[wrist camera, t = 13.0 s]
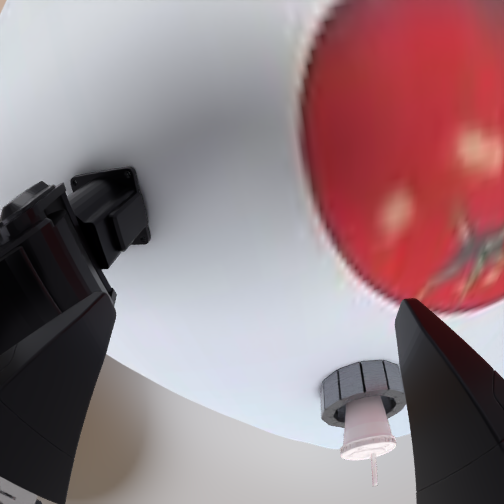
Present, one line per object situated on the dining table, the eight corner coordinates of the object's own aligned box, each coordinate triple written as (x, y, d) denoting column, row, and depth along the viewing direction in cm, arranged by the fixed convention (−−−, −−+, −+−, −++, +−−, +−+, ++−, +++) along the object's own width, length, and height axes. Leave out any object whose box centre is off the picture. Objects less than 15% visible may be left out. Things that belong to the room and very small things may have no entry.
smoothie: (369, 396, 33) (379, 489, 21) (328, 393, 33) (330, 493, 21) (394, 371, 30) (412, 475, 18) (349, 367, 30) (360, 482, 18)
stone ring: (316, 404, 35) (317, 429, 31) (327, 363, 29) (329, 393, 26) (387, 399, 34) (391, 422, 30) (411, 356, 28) (419, 384, 25)
